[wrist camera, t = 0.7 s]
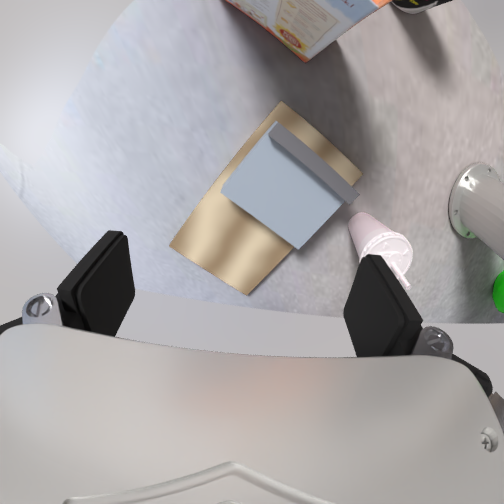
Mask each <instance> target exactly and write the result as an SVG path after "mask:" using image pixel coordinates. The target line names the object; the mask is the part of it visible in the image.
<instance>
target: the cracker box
mask: <svg viewBox="0 0 504 504" xmlns="http://www.w3.org/2000/svg"><path fill="white" fill-rule="evenodd" d="M226 1H227V2H229V3H230V4H232V5H233V6H235V7H236V8H237V9H239V10H240V11H242V12H243V13H245V14H246V15H247V16H249V17H250V18H252V19H253V20H254V21H256V22H257V23H258V24H259V25H261V26H262V27H263V28H265V29H266V30H267V31H268V32H270V33H271V34H272V35H273V36H275V37H276V38H277V39H278V40H279V41H281V42H282V43H283V44H284V45H285V46H286V47H288V48H289V49H290V50H291V51H292V52H293V53H295V54H296V55H297V56H298V57H299V58H300V59H301V60H302V61H304V62H305V63H306V62H308V61H309V60H310V59H312V58H313V57H314V56H315V55H317V54H318V53H319V52H321V51H322V50H323V49H324V48H326V47H327V46H328V45H329V44H331V43H332V42H333V41H335V40H336V39H337V38H339V37H340V36H341V35H342V34H344V33H345V32H346V31H348V30H349V29H351V28H352V27H353V26H355V25H356V24H357V23H359V22H360V21H362V20H363V19H365V18H366V17H367V16H369V15H370V14H372V13H374V12H375V11H377V10H378V9H380V8H382V7H383V6H385V5H386V4H388V3H389V2H391V1H392V0H226Z"/></svg>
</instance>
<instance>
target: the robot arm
mask: <svg viewBox="0 0 504 504" xmlns="http://www.w3.org/2000/svg"><path fill="white" fill-rule="evenodd" d="M449 216H450V220H451V224H452V226H453V228H454V229H455V230H456V232H458V233H459V234H460V235H461V236H463V237H465V238H476V237H478V238H479V239H480V240H482V241H483V242H484V243H485V244H486V245H487V246H488V247H490V248H491V249H492V250H493V251H494V252H495V253H496V254H497V255H499V256H500V257H501V258H502V259H503V260H504V183H502V182H501V181H500V178H499V176H498V174H497V172H496V171H495V170H494V169H493V168H492V167H491V166H489V165H487V164H484V163H474V164H472V165H470V166H468V167H467V168H466V169H464V171H463V172H462V173H461V174H460V175H459V177H458V179H457V180H456V182H455V184H454V186H453V189H452V192H451V196H450V201H449ZM57 290H58V294H57V295H56V296H54V295H53V294H49V293H42V294H37V295H35V296H33V297H31V298H30V299H29V300H28V301H27V302H26V303H25V304H24V306H23V310H22V317H21V318H18V319H16V320H13V321H11V322H8V323H5V324H3V325H1V326H0V504H504V399H503V398H502V397H501V396H500V395H499V394H498V393H497V392H495V393H494V394H492V384H491V381H490V379H489V377H488V375H487V374H486V373H484V372H482V371H481V370H479V369H477V368H476V367H474V366H472V365H471V364H469V363H467V362H466V361H464V360H462V359H460V358H459V357H457V356H456V355H454V354H452V353H453V342H452V340H451V339H450V337H449V336H448V335H447V334H446V333H445V332H444V331H443V330H441V329H439V328H436V327H432V326H429V327H425V328H424V329H423V328H422V326H421V323H422V321H423V319H422V318H421V316H420V314H419V313H418V311H417V309H416V308H415V306H414V304H413V303H412V301H411V300H410V298H409V296H408V295H407V293H406V292H405V290H404V289H403V287H402V286H401V284H400V282H399V281H398V279H397V278H396V276H395V275H394V273H393V272H392V270H391V269H390V268H389V266H388V265H387V263H386V262H385V260H384V259H383V257H382V256H381V255H374V254H367V255H366V256H365V257H362V259H361V261H360V264H359V267H358V270H357V273H356V276H355V279H354V282H353V285H352V288H351V291H350V294H349V297H348V299H347V302H346V305H345V308H344V319H345V322H346V325H347V328H348V331H349V334H350V337H351V340H352V343H353V346H354V349H355V352H356V355H357V357H344V358H317V357H315V358H314V357H280V356H262V355H246V354H234V353H223V352H213V351H204V350H195V349H187V348H180V347H172V346H166V345H159V344H152V343H145V342H140V341H134V340H129V339H124V338H119V337H115V335H116V333H117V331H118V329H119V327H120V325H121V323H122V321H123V319H124V317H125V315H126V313H127V311H128V309H129V307H130V305H131V303H132V301H133V299H134V296H135V287H134V281H133V275H132V268H131V261H130V254H129V246H128V238H127V236H126V235H124V234H123V232H122V231H110V230H109V231H108V232H107V233H106V234H105V235H104V236H103V237H102V238H101V239H100V240H99V241H98V242H97V243H96V244H95V245H94V246H93V247H92V249H91V250H90V251H89V252H88V253H87V254H86V255H85V256H84V257H83V258H82V260H81V261H80V262H79V263H78V264H77V265H76V266H75V268H74V269H73V270H72V271H71V272H70V273H69V275H68V276H67V277H66V278H65V279H64V280H63V282H62V283H61V284H60V285H59V287H58V288H57Z"/></svg>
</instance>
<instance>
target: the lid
mask: <svg viewBox="0 0 504 504" xmlns="http://www.w3.org/2000/svg"><path fill="white" fill-rule="evenodd" d="M220 193H222V194H223V195H224V196H226V197H227V198H229V199H230V200H231V201H233V202H234V203H236V204H237V205H238V206H240V207H241V208H243V209H244V210H245V211H247V212H248V213H249V214H251V215H252V216H254V217H255V218H256V219H258V220H259V221H260V222H262V223H263V224H264V225H266V226H267V227H269V228H270V229H271V230H273V231H274V232H275V233H277V234H278V235H279V236H281V237H282V238H283V239H285V240H286V241H287V242H289V243H290V244H291V245H293V246H294V247H295V248H297V249H298V250H299V249H300V248H301V247H302V246H303V245H304V244H305V242H306V241H307V240H308V239H309V238H310V237H311V236H312V235H313V234H314V233H315V232H316V231H317V230H318V229H319V228H320V227H321V226H322V225H323V224H324V223H325V222H326V221H327V220H328V219H329V217H330V216H331V215H332V214H333V213H334V212H335V211H336V210H337V209H338V208H339V207H340V206H341V205H342V204H343V203H344V202H345V201H346V202H347V203H348V204H349V205H350V204H351V203H352V202H353V201H354V200H355V199H356V198H357V197H358V196H359V195H360V194H359V193H358V192H357V191H356V190H355V189H354V188H353V187H352V186H351V185H350V184H349V183H348V182H347V181H345V180H344V179H343V178H342V177H341V176H340V175H339V174H338V173H337V172H336V171H335V170H334V169H333V168H332V167H330V166H329V165H328V164H327V163H326V162H325V161H324V160H323V159H322V158H320V157H319V156H318V155H317V154H316V153H315V152H314V151H313V150H311V149H310V148H309V147H308V146H307V145H306V144H304V143H303V142H302V141H301V140H300V139H298V138H297V137H296V136H295V135H294V134H292V133H291V132H290V131H289V130H287V129H286V128H285V127H284V126H283V125H281V124H280V123H279V122H277V121H275V122H274V123H273V124H272V125H271V127H270V128H269V129H268V130H267V131H266V132H265V134H264V135H263V136H262V137H261V138H260V140H259V141H258V142H257V143H256V144H255V146H254V147H253V148H252V149H251V150H250V152H249V153H248V154H247V155H246V157H245V158H244V159H243V160H242V161H241V163H240V164H239V165H238V166H237V168H236V169H235V170H234V171H233V173H232V174H231V175H230V177H229V178H228V179H227V180H226V182H225V183H224V184H223V186H222V189H221V192H220Z"/></svg>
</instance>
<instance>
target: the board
mask: <svg viewBox="0 0 504 504" xmlns="http://www.w3.org/2000/svg"><path fill="white" fill-rule="evenodd" d="M275 121H277V122H279V123H280V124H281V125H283V126H284V127H285V128H286V129H287V130H289V131H290V132H291V133H292V134H294V135H295V136H296V137H297V138H298V139H300V140H301V141H302V142H303V143H304V144H306V145H307V146H308V147H309V148H310V149H311V150H313V151H314V152H315V153H316V154H317V155H318V156H319V157H320V158H322V159H323V160H324V161H325V162H326V163H327V164H328V165H329V166H330V167H332V168H333V169H334V170H335V171H336V172H337V173H338V174H339V175H340V176H341V177H342V178H343V179H344V180H345V181H347V182H348V183H349V184H350V185H351V186H352V185H353V184H354V183H355V182H356V181H357V180H358V179H359V178H360V177H361V176H362V175H363V173H362V172H361V171H360V170H359V169H358V168H357V167H356V166H355V165H354V164H353V163H352V162H351V161H350V160H349V159H347V158H346V157H345V156H344V155H343V154H342V153H341V152H340V151H339V150H338V149H337V148H336V147H335V146H334V145H333V144H332V143H331V142H329V141H328V140H327V139H326V138H325V137H324V136H323V135H322V134H321V133H319V132H318V131H317V130H316V129H315V128H314V127H313V126H311V125H310V124H309V123H308V122H307V121H306V120H304V119H303V118H302V117H301V116H300V115H298V114H297V113H296V112H295V111H293V110H292V109H291V108H290V107H289V106H287V105H286V104H285V103H283V102H282V101H280V103H279V104H278V105H277V106H276V107H275V108H274V109H273V111H272V112H271V113H270V114H269V115H268V116H267V118H266V119H265V120H264V121H263V122H262V123H261V125H260V126H259V127H258V128H257V129H256V131H255V132H254V133H253V134H252V135H251V137H250V138H249V139H248V140H247V141H246V143H245V144H244V145H243V146H242V148H241V149H240V150H239V151H238V153H237V154H236V155H235V156H234V158H233V159H232V160H231V161H230V163H229V164H228V165H227V167H226V168H225V169H224V170H223V172H222V173H221V174H220V176H219V177H218V178H217V179H216V181H215V182H214V183H213V185H212V186H211V187H210V189H209V190H208V191H207V193H206V194H205V195H204V197H203V198H202V199H201V201H200V202H199V204H198V205H197V206H196V208H195V209H194V210H193V212H192V213H191V215H190V216H189V217H188V219H187V220H186V222H185V223H184V224H183V226H182V227H181V229H180V230H179V231H178V233H177V234H176V236H175V237H174V239H173V240H172V242H171V243H170V245H169V246H170V247H171V248H173V249H174V250H176V251H177V252H179V253H180V254H182V255H183V256H185V257H186V258H188V259H190V260H191V261H193V262H194V263H196V264H197V265H199V266H200V267H202V268H203V269H205V270H207V271H208V272H210V273H211V274H213V275H214V276H216V277H218V278H219V279H221V280H222V281H224V282H226V283H227V284H229V285H230V286H232V287H234V288H235V289H237V290H238V291H240V292H242V293H243V294H245V295H246V296H247V295H248V294H249V293H250V292H251V291H252V290H253V289H254V288H255V287H256V286H257V285H258V284H259V283H260V282H261V281H262V280H263V279H264V277H265V276H266V275H267V274H268V273H269V272H270V271H271V270H272V269H273V268H274V267H275V266H276V265H277V264H278V263H279V262H280V261H281V260H282V259H283V258H284V257H285V256H286V255H287V254H288V253H289V252H290V251H291V250H292V249H293V248H294V246H293V245H291V244H290V243H289V242H287V241H286V240H285V239H283V238H282V237H281V236H279V235H278V234H277V233H275V232H274V231H273V230H271V229H270V228H269V227H267V226H266V225H264V224H263V223H262V222H260V221H259V220H258V219H256V218H255V217H254V216H252V215H251V214H249V213H248V212H247V211H245V210H244V209H243V208H241V207H240V206H238V205H237V204H236V203H234V202H233V201H231V200H230V199H229V198H227V197H226V196H224V195H223V194H222V193H220V192H221V189H222V186H223V184H224V183H225V182H226V180H227V179H228V178H229V177H230V175H231V174H232V173H233V171H234V170H235V169H236V168H237V166H238V165H239V164H240V163H241V161H242V160H243V159H244V158H245V157H246V155H247V154H248V153H249V152H250V150H251V149H252V148H253V147H254V146H255V144H256V143H257V142H258V141H259V140H260V138H261V137H262V136H263V135H264V134H265V132H266V131H267V130H268V129H269V128H270V127H271V125H272V124H273V123H274V122H275Z"/></svg>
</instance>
